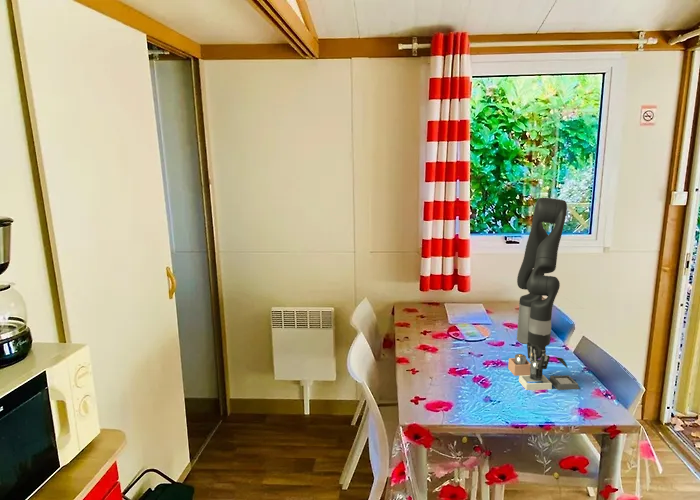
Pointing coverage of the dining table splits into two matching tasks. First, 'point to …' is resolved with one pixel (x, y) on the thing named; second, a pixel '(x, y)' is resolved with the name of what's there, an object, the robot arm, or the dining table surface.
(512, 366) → the tan open box
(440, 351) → the dining table surface
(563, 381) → the plate
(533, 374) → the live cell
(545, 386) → the trough
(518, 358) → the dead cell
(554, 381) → the grey square pedestal
